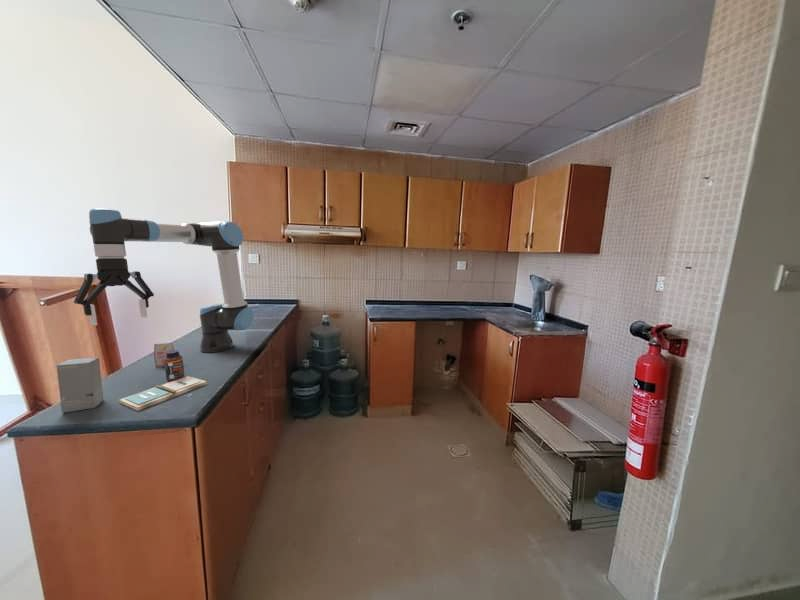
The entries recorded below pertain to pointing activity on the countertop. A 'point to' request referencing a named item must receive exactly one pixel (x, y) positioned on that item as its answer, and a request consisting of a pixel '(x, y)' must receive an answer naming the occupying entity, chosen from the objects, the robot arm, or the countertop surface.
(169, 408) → the countertop surface
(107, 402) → the countertop surface
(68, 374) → the skincare box
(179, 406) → the countertop surface
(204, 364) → the countertop surface
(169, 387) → the cream pad
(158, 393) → the teal pad
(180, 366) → the supplement bottle
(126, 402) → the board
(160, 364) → the white product box
